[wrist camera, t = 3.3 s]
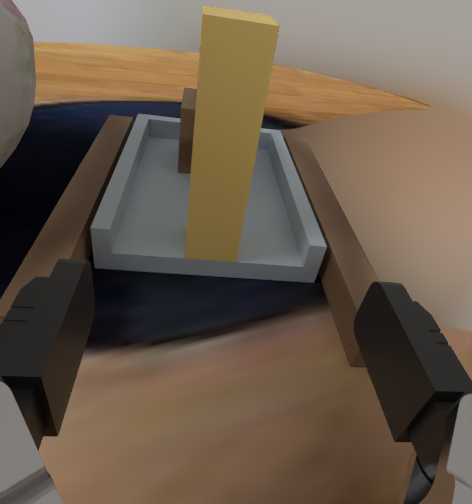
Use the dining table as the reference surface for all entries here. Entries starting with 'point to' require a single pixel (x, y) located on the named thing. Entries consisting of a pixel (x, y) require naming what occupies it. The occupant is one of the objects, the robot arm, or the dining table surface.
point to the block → (187, 130)
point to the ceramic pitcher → (15, 78)
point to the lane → (94, 187)
